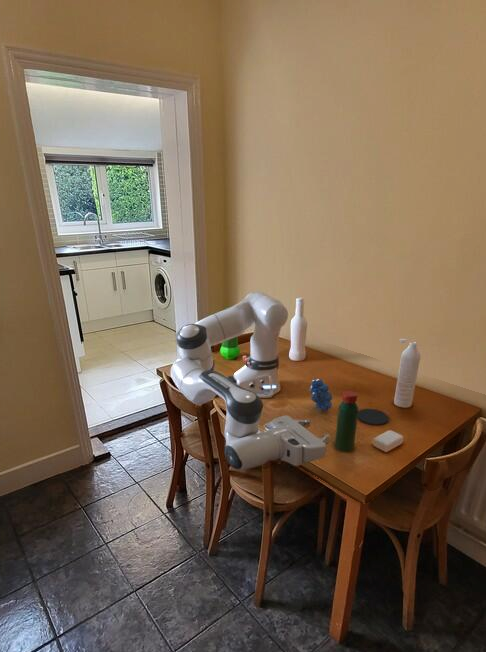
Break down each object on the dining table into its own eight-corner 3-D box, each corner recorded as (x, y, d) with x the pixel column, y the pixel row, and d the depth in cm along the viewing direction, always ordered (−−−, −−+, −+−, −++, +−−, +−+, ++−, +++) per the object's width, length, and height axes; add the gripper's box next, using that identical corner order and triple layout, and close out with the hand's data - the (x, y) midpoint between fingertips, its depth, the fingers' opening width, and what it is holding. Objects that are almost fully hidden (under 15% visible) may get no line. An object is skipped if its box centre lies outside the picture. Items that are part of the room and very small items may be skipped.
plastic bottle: (219, 354, 208) (217, 306, 198) (239, 353, 209) (238, 305, 199) (220, 361, 199) (218, 311, 189) (241, 360, 200) (241, 310, 190)
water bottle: (415, 405, 157) (427, 343, 146) (403, 409, 154) (415, 346, 143) (396, 396, 163) (406, 336, 153) (385, 400, 160) (394, 339, 150)
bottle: (306, 361, 198) (310, 300, 186) (289, 361, 199) (292, 300, 186) (304, 355, 206) (307, 296, 193) (288, 355, 206) (290, 296, 193)
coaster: (365, 427, 143) (365, 425, 142) (351, 412, 152) (351, 410, 152) (394, 423, 145) (394, 421, 144) (378, 408, 154) (378, 407, 154)
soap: (388, 436, 137) (389, 428, 136) (403, 443, 133) (404, 435, 132) (371, 445, 132) (372, 437, 131) (386, 453, 128) (387, 445, 127)
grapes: (301, 405, 157) (302, 377, 152) (314, 401, 160) (316, 373, 155) (321, 418, 148) (323, 388, 143) (335, 414, 151) (338, 384, 146)
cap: (346, 404, 123) (346, 397, 122) (340, 398, 126) (341, 391, 125) (358, 402, 123) (359, 395, 122) (352, 396, 127) (353, 390, 126)
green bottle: (339, 452, 129) (345, 400, 121) (331, 442, 134) (336, 391, 126) (357, 450, 130) (363, 398, 122) (348, 440, 135) (354, 389, 127)
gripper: (261, 434, 127) (298, 423, 133) (300, 469, 111) (340, 455, 116) (261, 416, 124) (298, 406, 130) (301, 450, 108) (342, 436, 114)
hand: (318, 429), depth 123 cm, fingers open, 8 cm apart
